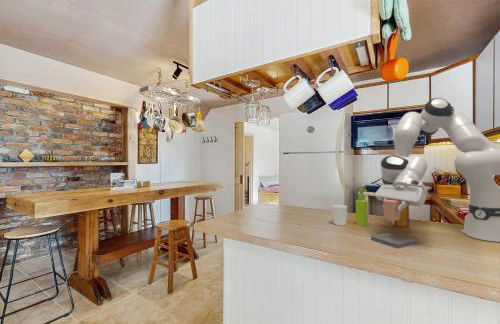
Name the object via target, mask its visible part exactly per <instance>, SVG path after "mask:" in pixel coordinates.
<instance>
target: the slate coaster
mask: <svg viewBox="0 0 500 324" xmlns="http://www.w3.org/2000/svg"><path fill="white" fill-rule="evenodd" d="M370 239H371V241H374V242H377V243H380V244H383V245H385V246H390V247H393V248H396V249H400V248H403V247H408V246H411V245H415V244H416V239H413V238H411V237H406V236H402V235H399V234H397V233H392V232H385V233H381V234H375V235H371V238H370Z"/></svg>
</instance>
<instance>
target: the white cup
mask: <svg viewBox="0 0 500 324" xmlns="http://www.w3.org/2000/svg"><path fill="white" fill-rule="evenodd" d="M331 209H332V210H331V211H332V219H333V220H332V222H333V225H335V224H336V226H347V217H348V216H347V215H348V206H347V205H345V204H344V205H343V204H332V206H331Z"/></svg>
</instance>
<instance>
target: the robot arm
mask: <svg viewBox="0 0 500 324" xmlns="http://www.w3.org/2000/svg"><path fill="white" fill-rule="evenodd" d="M440 128H441V129H443V130H444V131H445V133H446V134H447V136H448V138H449V139H450V140H451V142H452V144H454V146H455V147H456V149H457V150H458V151H460V152H462V153H460V154H458V155H457V156H456V157H455V159H454V162H453V164H454V168H455V170H456V171H457V172H458V173H459V174H461V175H462V177H463V178H464V179H465V181H466V183H467V186H468V189H469V191H468V192H469V204H468V207H467V209H468V214H466V215H465V216H464V226H463V227H464V228H461V229H460V232H461V233H463V234H465V235H466V236H468V237H470V238H473V239H477V240H481V241H486V242H487V241H488V242H496V243H497V242H498V243H500V185H498V184H497V183H496V181H495V178H494V176H500V146H499V145H497V144H496V143H494V142H493V141H491V140H490V139H488V138H487V136H485V135H484V134H483V132H482V131H481V130H480V129H479V128H478V127H477V126H476V125H475V123H474V122H473V121H472V120H471V119H469V118H468V117H467V116H466V115H465V114H463V113H462V112H455V109H454V107H453V106H452V105H451V103H450V102H449V101H447V100H446V99H444V98H441V97H436V98H435V97H434V98H432V99H430V100H428V101H427V102H426V104H425V105H424V107H423V109H422V110H421V112H417V111H408V112H406V113H405V114H403V116H402V117H401V118H400V120H399V121H398V123H397V124H396V127H395V130H394V134H393V140H394V154H392V155H391V154H390V155H387V156H385V157H383V158H382V159H381V162H380V167H381V177H382V178H381V181H382V183H383V184H382V185H381V186H380V187H379V188H378V189H377V190H376V192H375V193H374V196H375V198H376V199H377V200H378V201H381V202H384V200H396V201H400V204H401V205H399V206H396V208H395V210H396V211H399V212H401V210H402V209H403V208H405V207H407V205H409V206H413V207H418V208H420V207H422V206H423V205H424V204H425V202H426V199H427V195H428V193H429V191H428V189H427V188H426V186H425V185H424V183H423V182H422V181H421V180H422V179H423V178H424V176H425V174H426V172H427V170H428V163H427V160H426V159H425V158H424V157H422V156H420V155H411V152H412V149H413V147H414V146H415V143H416V142H417V140H418V137H419V136H420V135H422V136H425V137H426V136H429V137H430V136H432V135H435V134H436V133H437V132H438V131H439V129H440ZM382 208H383V209H384V203H383V204H382Z"/></svg>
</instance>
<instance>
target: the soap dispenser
mask: <svg viewBox="0 0 500 324" xmlns="http://www.w3.org/2000/svg"><path fill="white" fill-rule="evenodd" d="M356 190H359V193H358V194H357V199H356V200H355V224H356V225H357V226H362V227H363V226H365V227H366V226H367V227H368V225H369V221H368V220H369V219H368V218H369V217H368V202H369V201H368V200H366V194H364V191H365V187H364V188H363V187H356Z"/></svg>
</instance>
